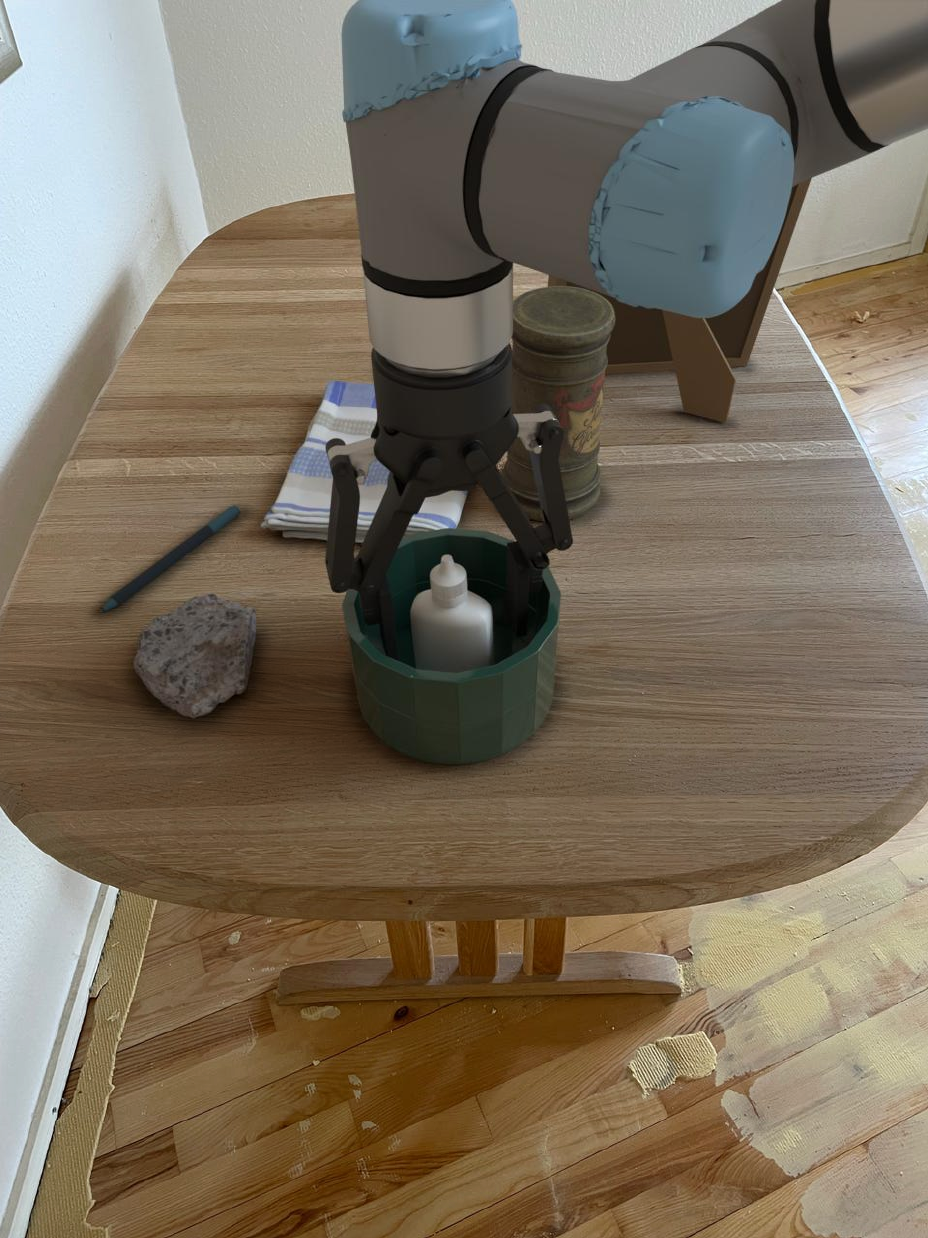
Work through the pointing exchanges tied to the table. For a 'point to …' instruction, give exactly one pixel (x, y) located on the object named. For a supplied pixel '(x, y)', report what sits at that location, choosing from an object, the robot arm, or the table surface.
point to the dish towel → (311, 479)
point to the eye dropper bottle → (451, 623)
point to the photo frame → (698, 334)
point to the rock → (197, 654)
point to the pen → (170, 558)
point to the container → (560, 388)
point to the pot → (465, 701)
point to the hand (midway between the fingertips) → (453, 635)
